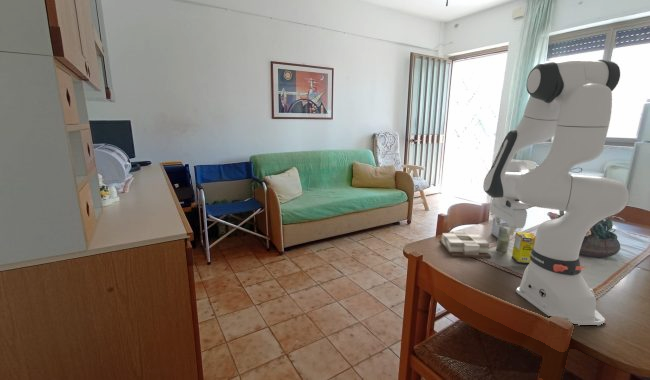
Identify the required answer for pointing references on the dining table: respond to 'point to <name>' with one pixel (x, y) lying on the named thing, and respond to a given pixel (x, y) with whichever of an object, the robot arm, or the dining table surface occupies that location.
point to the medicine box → (496, 229)
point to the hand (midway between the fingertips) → (503, 230)
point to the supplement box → (523, 247)
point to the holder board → (465, 244)
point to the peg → (503, 239)
